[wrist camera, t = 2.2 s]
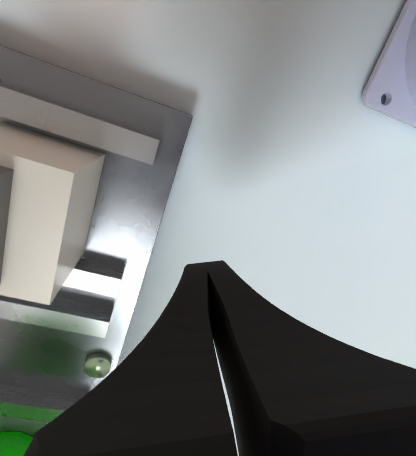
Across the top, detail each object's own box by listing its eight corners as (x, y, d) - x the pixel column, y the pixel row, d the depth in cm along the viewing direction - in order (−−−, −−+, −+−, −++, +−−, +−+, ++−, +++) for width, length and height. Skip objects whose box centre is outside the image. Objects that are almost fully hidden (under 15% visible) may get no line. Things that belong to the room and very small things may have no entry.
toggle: (105, 154, 12) (65, 178, 8) (83, 252, 14) (41, 318, 10) (1, 121, 11) (-106, 128, 7) (-9, 230, 13) (-103, 290, 9)
